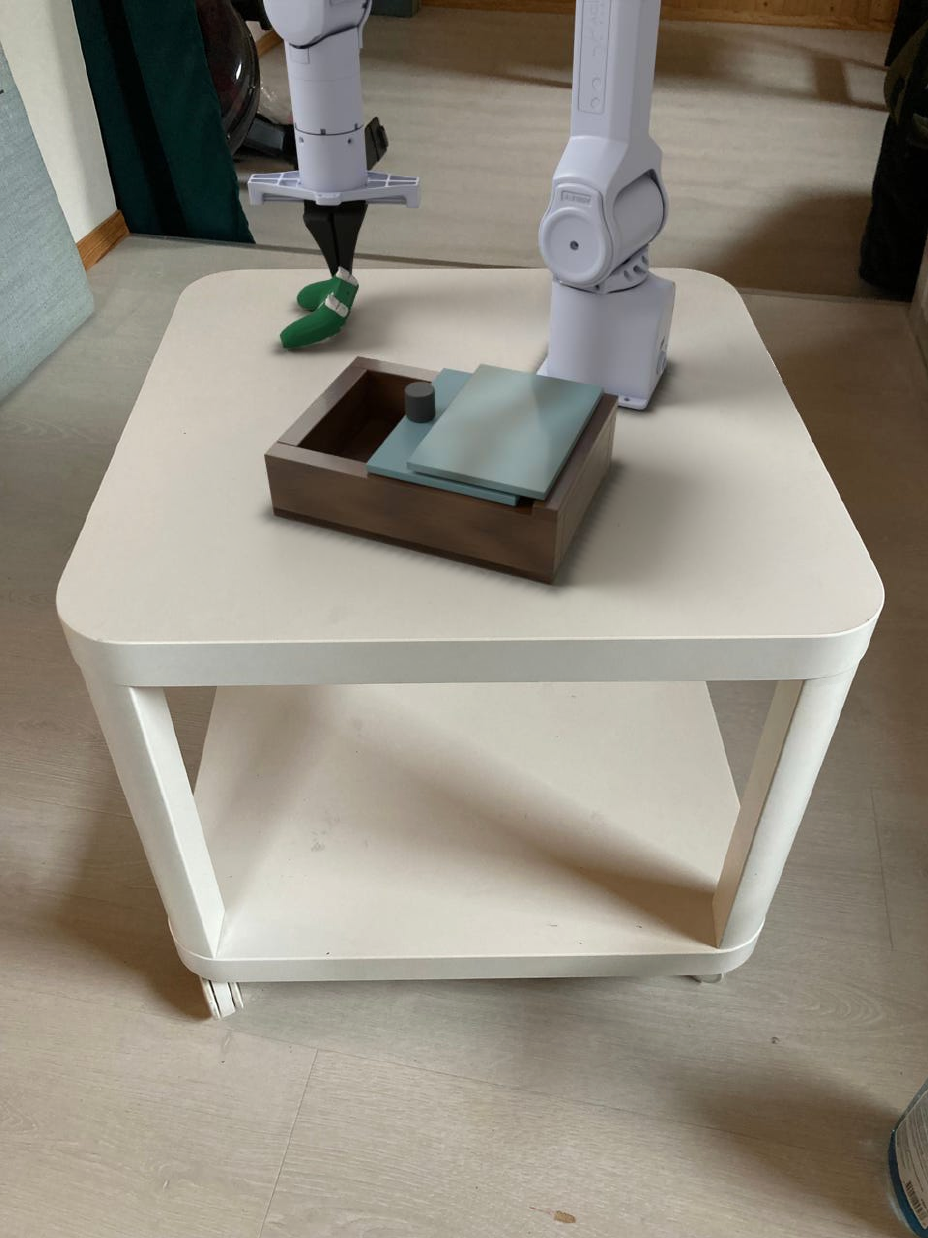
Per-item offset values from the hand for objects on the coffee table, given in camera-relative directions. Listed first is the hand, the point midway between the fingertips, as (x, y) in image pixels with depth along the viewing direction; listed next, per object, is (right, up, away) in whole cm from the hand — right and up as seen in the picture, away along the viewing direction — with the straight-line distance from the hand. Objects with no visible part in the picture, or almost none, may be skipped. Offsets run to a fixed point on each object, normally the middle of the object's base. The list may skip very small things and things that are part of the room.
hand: (343, 283), depth 90 cm
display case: (+10, -22, -20) cm, 31 cm away
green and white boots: (-1, -5, -3) cm, 6 cm away
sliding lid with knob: (+12, -18, -25) cm, 33 cm away
